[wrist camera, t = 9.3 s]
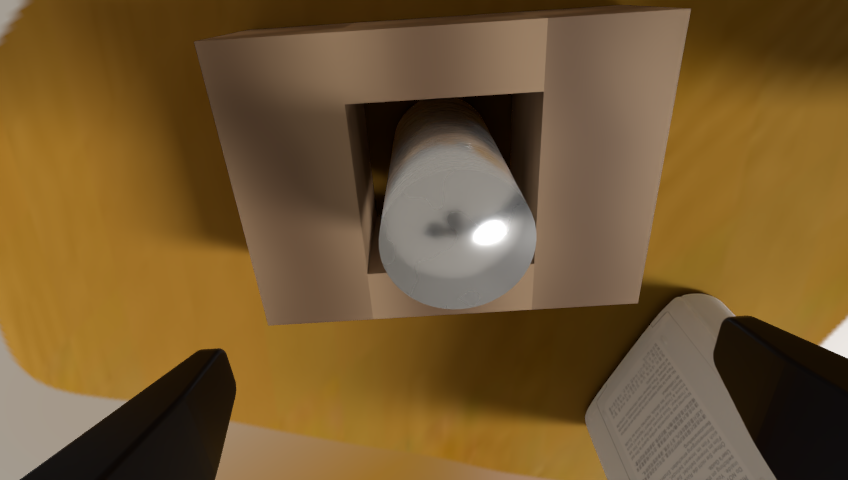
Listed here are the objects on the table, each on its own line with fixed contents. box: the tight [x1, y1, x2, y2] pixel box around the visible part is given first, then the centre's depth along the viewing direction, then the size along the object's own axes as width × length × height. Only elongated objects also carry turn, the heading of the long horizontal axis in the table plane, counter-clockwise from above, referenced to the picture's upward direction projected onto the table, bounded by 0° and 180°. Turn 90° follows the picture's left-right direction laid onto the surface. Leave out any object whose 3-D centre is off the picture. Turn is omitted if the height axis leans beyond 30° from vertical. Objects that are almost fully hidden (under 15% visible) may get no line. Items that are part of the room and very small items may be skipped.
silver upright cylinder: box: [379, 97, 536, 309], centre depth 16 cm, size 4×4×9 cm
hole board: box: [194, 5, 691, 325], centre depth 18 cm, size 14×10×5 cm
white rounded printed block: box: [585, 294, 777, 480], centre depth 20 cm, size 10×4×12 cm, turn 159°
